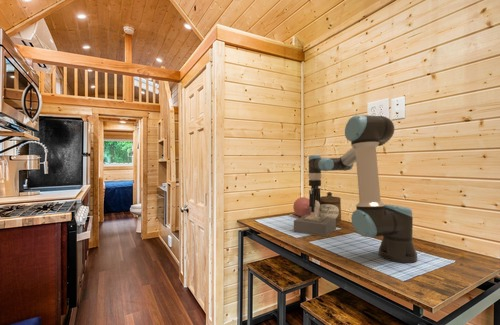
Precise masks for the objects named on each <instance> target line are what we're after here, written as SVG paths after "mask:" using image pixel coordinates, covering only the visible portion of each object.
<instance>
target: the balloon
mask: <svg viewBox="0 0 500 325" xmlns="http://www.w3.org/2000/svg"><path fill="white" fill-rule="evenodd" d="M292 206H293V211H294V213H295V214H296V215H297V216H298V217H299V218H300V217H302V216H305V215H311V207H309V197H303V196H302V197H299V198H296V199H295V201H294V203H293V205H292Z"/></svg>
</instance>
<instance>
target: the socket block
mask: <svg viewBox="0 0 500 325" xmlns="http://www.w3.org/2000/svg"><path fill="white" fill-rule="evenodd" d="M310 215H311V214H310ZM310 215H305V216H302V217H300V216H299V217H298V218H297V219H293V232H295V233H300V234H307V235H313V236H318V237H323V238H327V237H328V236H329V235H330V234H331V233H333V232H334V231H336V230H337V226H336V218H330V217H326V219H325V220H324V221H322V222H316V221H308V220H304V218H306V217H308V216H310ZM320 217H321V216H320Z"/></svg>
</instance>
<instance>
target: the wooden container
mask: <svg viewBox="0 0 500 325" xmlns="http://www.w3.org/2000/svg"><path fill="white" fill-rule="evenodd" d="M320 202H321V203H320V204H321V205H320V207H319V216H321V217H330V218H336V227H338V226H340V225H342V208H341V207H342V205H341V204H342V203H341V197H339V196H333V193H332V192H331V191H328V192H326V195H325V196H320Z"/></svg>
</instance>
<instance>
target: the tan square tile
mask: <svg viewBox="0 0 500 325" xmlns="http://www.w3.org/2000/svg"><path fill="white" fill-rule="evenodd" d="M325 219H326V217H320V216H317V217H316V218H314V217H311V214H310V216H308V217H306V218H304V220H308V221H316V222H322V221H324V220H325Z"/></svg>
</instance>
